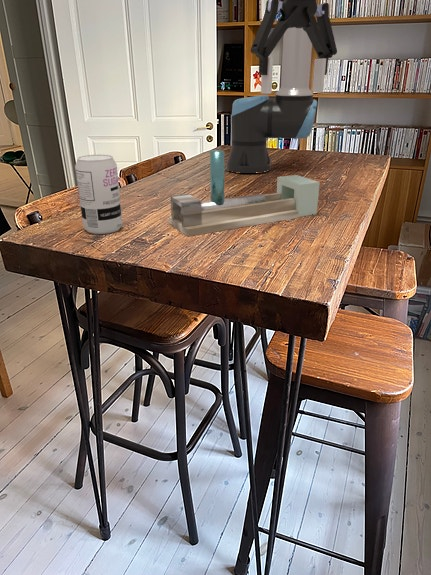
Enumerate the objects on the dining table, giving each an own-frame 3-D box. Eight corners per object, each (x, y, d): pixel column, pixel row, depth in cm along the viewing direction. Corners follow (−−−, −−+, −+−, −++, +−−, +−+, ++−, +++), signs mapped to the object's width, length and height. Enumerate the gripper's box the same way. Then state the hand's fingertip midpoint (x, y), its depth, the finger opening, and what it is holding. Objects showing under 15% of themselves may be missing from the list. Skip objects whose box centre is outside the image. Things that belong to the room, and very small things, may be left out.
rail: (169, 223, 100) (167, 194, 97) (273, 207, 111) (275, 181, 108) (187, 236, 92) (186, 205, 89) (297, 217, 103) (300, 189, 100)
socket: (275, 207, 111) (277, 177, 108) (294, 204, 113) (296, 174, 110) (297, 217, 104) (300, 184, 100) (316, 213, 106) (319, 182, 103)
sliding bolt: (178, 218, 97) (176, 153, 91) (257, 206, 105) (260, 146, 99) (185, 222, 94) (182, 155, 88) (265, 210, 102) (268, 148, 96)
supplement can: (87, 223, 100) (78, 154, 93) (124, 222, 101) (118, 153, 94) (80, 235, 93) (69, 161, 86) (120, 234, 93) (113, 160, 87)
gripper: (256, -40, 77) (252, 94, 86) (362, -26, 88) (349, 92, 97) (234, -31, 83) (232, 93, 92) (336, -19, 94) (326, 91, 103)
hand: (292, 92), depth 95 cm, fingers open, 13 cm apart
